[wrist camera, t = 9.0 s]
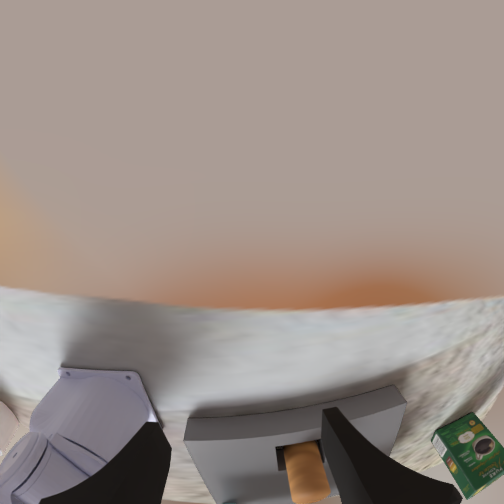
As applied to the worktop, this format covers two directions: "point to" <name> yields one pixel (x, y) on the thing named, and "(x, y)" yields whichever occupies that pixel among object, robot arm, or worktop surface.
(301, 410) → the socket stand
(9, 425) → the white cube
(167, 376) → the worktop surface
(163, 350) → the worktop surface
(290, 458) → the peg
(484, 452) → the coffee box
